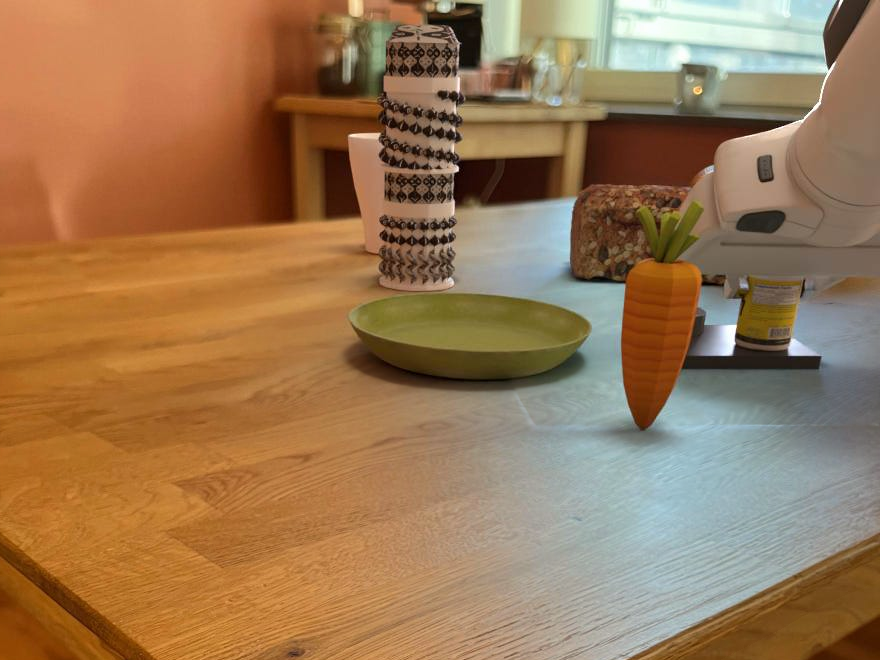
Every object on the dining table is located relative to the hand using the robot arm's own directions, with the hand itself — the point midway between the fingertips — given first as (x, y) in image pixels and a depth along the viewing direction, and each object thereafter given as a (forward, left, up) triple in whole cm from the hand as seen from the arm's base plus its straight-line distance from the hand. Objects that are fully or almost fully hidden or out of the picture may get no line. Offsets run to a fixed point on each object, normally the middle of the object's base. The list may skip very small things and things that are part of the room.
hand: (768, 292), depth 87 cm
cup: (+30, -52, -6) cm, 60 cm away
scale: (+3, -1, -5) cm, 6 cm away
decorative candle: (+28, -31, -6) cm, 42 cm away
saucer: (+26, 0, -6) cm, 26 cm away
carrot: (+16, +20, -6) cm, 26 cm away
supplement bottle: (0, +1, -4) cm, 4 cm away
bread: (-1, -37, -6) cm, 37 cm away
